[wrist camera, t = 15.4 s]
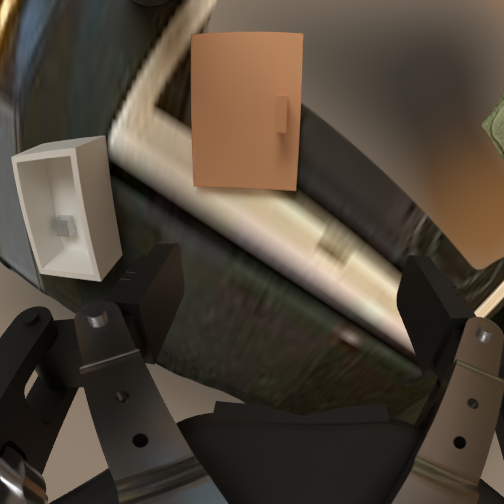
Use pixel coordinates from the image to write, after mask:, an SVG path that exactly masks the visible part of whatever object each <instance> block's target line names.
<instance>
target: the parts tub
mask: <svg viewBox="0 0 504 504" xmlns="http://www.w3.org/2000/svg"><path fill="white" fill-rule="evenodd" d="M11 158H12V164H13V170H14V175H15V181H16V186H17V191H18V195H19V200H20V204H21V209H22V213H23V217H24V221H25V225H26V228H27V232H28V236H29V239H30V243H31V246H32V250H33V253H34V256H35V259H36V262H37V265H38V269H39V272H40V274H47V275H54V276H62V277H69V278H77V279H85V280H93V281H102V280H103V279H104V277H105V276H106V275H107V274H108V272H109V271H110V270H111V269H112V267H113V266H114V265H115V264H116V262H117V261H118V260H119V259H120V258H121V256H122V255H123V254H122V249H121V244H120V238H119V233H118V227H117V221H116V215H115V209H114V202H113V195H112V188H111V181H110V173H109V164H108V155H107V145H106V136H96V137H87V138H79V139H71V140H64V141H57V142H51V143H44V144H41V145H39V146H36V147H34V148H31V149H29V150H26V151H24V152H22V153H19V154H17V155H15V156H12V157H11ZM59 215H73V218H74V222H75V227H76V232H75V233H74V234H73V235H72V236H71V237H62V236H57V233H56V229H55V225H54V219H55V218H57V217H58V216H59Z"/></svg>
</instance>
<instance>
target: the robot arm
mask: <svg viewBox="0 0 504 504" xmlns="http://www.w3.org/2000/svg"><path fill="white" fill-rule="evenodd" d="M131 1H134V2H136V3H138V4H140V5H144V6H157V5H161V4H164V3H167V2H169V1H171V0H131ZM183 295H184V275H183V266H182V257H181V249H180V245H179V244H178V243H162V242H158V243H156V245H155V246H154V247H153V249H152V250H151V251H150V253H149V254H148V255H143V256H141V257H139V258H138V259H136V260H135V261H133V262H132V263H131V264H130V266H129V267H128V268H127V270H126V272H124V274H123V275H122V276H121V279H119V280H118V282H117V283H116V284H115V286H114V287H113V289H112V290H111V291H110V293H109V294H108V295H107V297H106V298H105V300H104V301H97V302H93V303H90V304H88V305H86V306H84V307H83V308H81V309H80V310H79V311H78V312H77V314H76V316H75V319H68V320H56V321H54V320H53V317H52V315H51V312H50V310H49V309H47V308H45V307H39V306H38V307H32V308H29V309H26V310H25V311H23V312H21V313H20V314H19V315H18V316H17V317H16V318H15V319H14V321H13V322H12V323H11V325H10V326H9V327H8V328H7V330H6V331H5V332H4V334H3V335H2V336H1V338H0V504H47V503H48V497H47V495H46V484H45V481H44V479H43V477H42V473H43V471H44V468H45V466H46V463H47V460H48V458H49V455H50V453H51V450H52V448H53V445H54V443H55V440H56V438H57V436H58V433H59V430H60V428H61V426H62V424H63V421H64V419H65V417H66V415H67V412H68V410H69V408H70V406H71V403H72V401H73V399H74V397H75V395H76V392H77V390H78V388H79V387H84V390H85V394H86V398H87V402H88V405H89V409H90V412H91V416H92V419H93V422H94V426H95V429H96V432H97V435H98V438H99V441H100V444H101V447H102V450H103V453H104V456H105V458H106V461H107V464H108V467H109V468H108V469H106V470H105V471H103V472H102V473H100V474H98V475H97V476H95V477H93V478H92V479H90V480H89V481H87V482H85V483H84V484H82V485H80V486H79V487H77V488H75V489H73V490H72V491H70V492H68V493H67V494H65V495H63V496H61V497H60V498H58V499H56V500H54V501H52V502H51V503H49V504H504V497H503V496H501V495H500V494H499V493H498V492H497V491H495V490H494V489H493V488H492V487H490V486H489V485H488V484H487V483H485V482H484V481H483V480H482V479H481V478H480V477H481V474H482V471H483V469H484V465H485V463H486V459H487V456H488V453H489V450H490V446H491V443H492V439H493V436H494V432H495V431H496V435H497V438H498V441H499V445H500V448H501V451H502V455H503V459H504V336H503V333H502V331H501V329H500V328H499V327H498V326H497V325H496V324H495V323H493V322H492V321H490V320H488V319H486V318H482V317H476V315H475V314H474V312H473V311H472V309H471V307H470V306H469V304H468V303H467V301H466V300H465V298H464V297H463V296H461V295H462V294H461V292H460V291H459V290H458V289H457V287H456V285H455V284H454V282H453V281H452V279H451V278H450V277H448V276H447V275H446V274H445V273H443V272H442V271H441V270H439V269H438V268H437V266H436V265H435V264H434V262H433V261H432V259H431V258H430V257H429V256H415V255H410V256H408V258H407V260H406V263H405V267H404V271H403V274H402V278H401V281H400V285H399V289H398V292H397V308H398V311H399V313H400V316H401V318H402V321H403V323H404V325H405V328H406V330H407V333H408V335H409V338H410V341H411V343H412V346H413V348H414V351H415V354H416V356H417V359H418V362H419V364H420V367H421V370H422V373H423V375H434V374H437V377H438V379H437V380H436V382H435V384H434V386H433V388H432V390H431V392H430V394H429V397H428V399H427V401H426V403H425V405H424V407H423V409H422V411H421V413H420V415H419V417H418V419H417V421H416V423H415V425H413V424H411V423H409V422H406V421H404V420H401V419H397V418H393V417H388V412H387V407H386V405H371V406H347V407H343V408H339V409H335V410H330V411H326V412H321V413H317V414H312V415H307V416H301V415H296V414H292V413H288V412H284V411H280V410H276V409H273V408H269V407H265V406H261V405H255V404H242V403H231V402H220V401H216V403H215V408H214V413H208V414H202V415H197V416H194V417H190V418H187V419H185V420H182V421H180V422H178V423H175V421H174V419H173V417H172V416H171V414H170V412H169V410H168V408H167V406H166V404H165V402H164V400H163V398H162V397H161V395H160V392H159V391H158V388H157V386H156V385H155V383H154V380H153V378H152V376H151V375H150V372H149V370H148V368H147V366H146V364H145V363H149V364H155V362H156V360H157V357H158V355H159V353H160V350H161V348H162V345H163V343H164V341H165V338H166V336H167V333H168V331H169V329H170V326H171V324H172V322H173V319H174V317H175V315H176V312H177V310H178V308H179V305H180V303H181V301H182V298H183ZM34 369H35V371H36V372H37V374H38V377H37V379H36V381H35V383H34V384H33V386H32V388H31V390H30V391H29V393H28V395H27V397H26V399H25V395H24V389H25V385H26V383H27V381H28V380H29V378H30V376H31V375H32V373H33V371H34Z"/></svg>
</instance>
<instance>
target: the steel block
mask: <svg viewBox="0 0 504 504" xmlns="http://www.w3.org/2000/svg"><path fill="white" fill-rule="evenodd" d="M54 225H55V229H56V233H57V236H62V237H71V236H72V235H73V234H74V233H75V232H76V227H75V222H74V218H73V215H59V216H58V217H57V218H55V219H54Z"/></svg>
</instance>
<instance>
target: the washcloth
mask: <svg viewBox="0 0 504 504" xmlns="http://www.w3.org/2000/svg"><path fill="white" fill-rule="evenodd" d="M481 127H482V128H483V129H484V130H485V131H486V132H487V134H488V135H489V137H490V139H491V140H492V142H493V144H494V145H495V147H496V149H497V151H498V152H499V154H500V155H501V156H502V158H503V159H504V92H503V94H502V96H501V98H500V99H499V101H498V103H497V104H496V106H495V108H494V109H493V111H492V113H491V115H489V116H488V118H487V119H486V120H485V121H483V122H482V125H481Z"/></svg>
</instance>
